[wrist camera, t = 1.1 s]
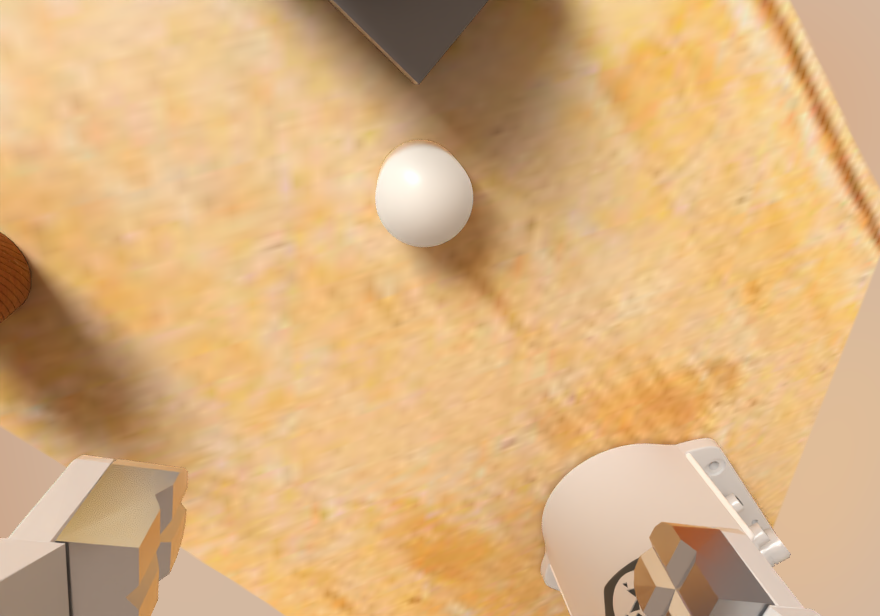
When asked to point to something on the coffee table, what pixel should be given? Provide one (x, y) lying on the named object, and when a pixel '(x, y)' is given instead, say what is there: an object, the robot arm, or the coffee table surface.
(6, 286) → the disposable coffee cup
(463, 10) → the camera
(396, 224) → the white egg
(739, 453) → the coffee table surface
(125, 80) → the coffee table surface
